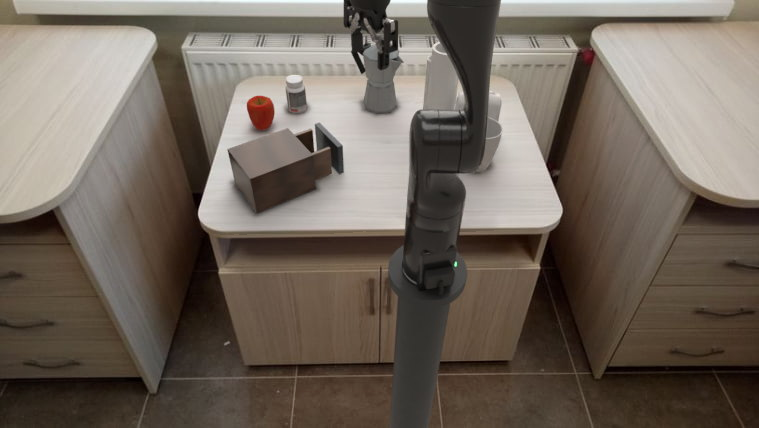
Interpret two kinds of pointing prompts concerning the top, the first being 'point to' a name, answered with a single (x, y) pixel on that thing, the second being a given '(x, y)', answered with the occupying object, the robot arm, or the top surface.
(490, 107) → the photo printer
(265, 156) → the cabinet
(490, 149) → the cup
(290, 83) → the pill bottle
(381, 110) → the coffee maker
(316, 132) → the drawer
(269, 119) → the apple
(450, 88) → the vase
